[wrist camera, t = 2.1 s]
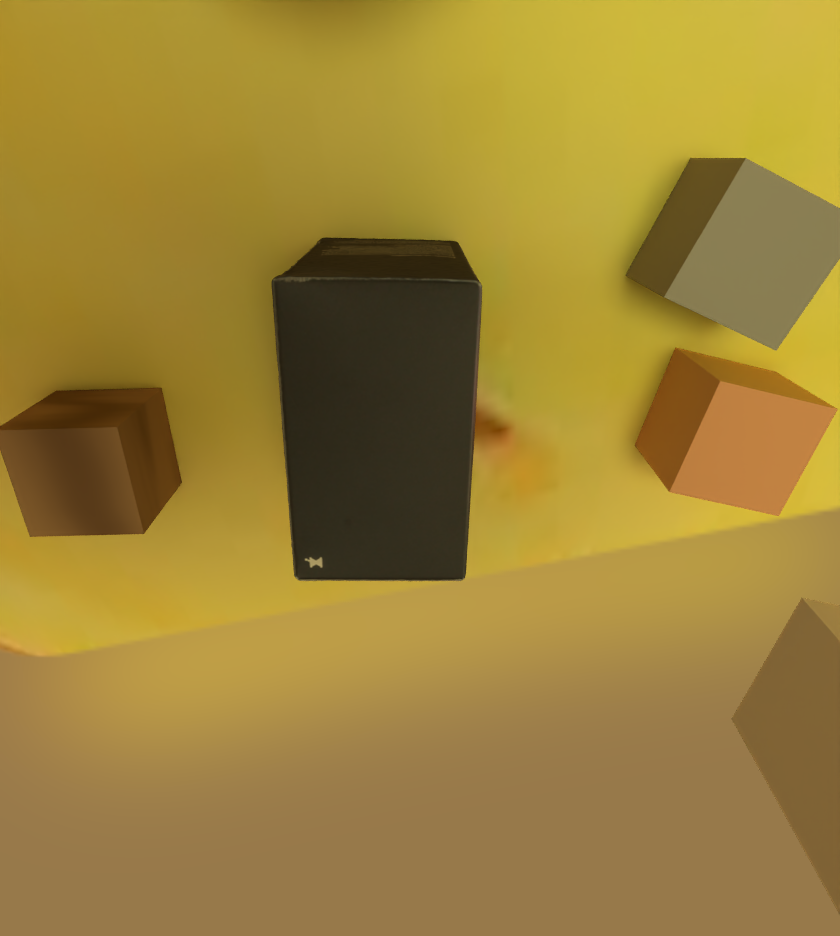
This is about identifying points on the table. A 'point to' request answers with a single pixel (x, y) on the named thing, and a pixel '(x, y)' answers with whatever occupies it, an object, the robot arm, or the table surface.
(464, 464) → the small box
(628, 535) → the table surface
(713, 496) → the terracotta cube
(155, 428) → the walnut cube
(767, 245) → the slate cube
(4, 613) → the table surface
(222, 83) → the table surface
